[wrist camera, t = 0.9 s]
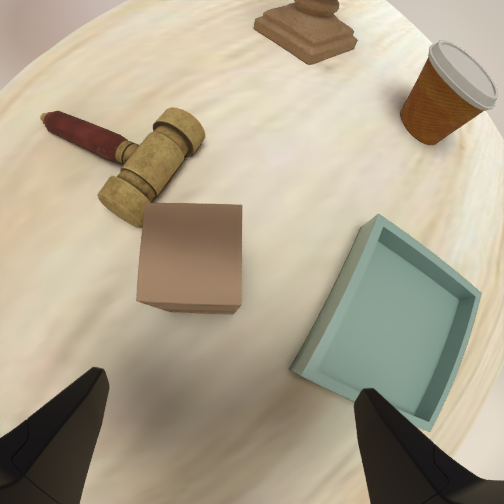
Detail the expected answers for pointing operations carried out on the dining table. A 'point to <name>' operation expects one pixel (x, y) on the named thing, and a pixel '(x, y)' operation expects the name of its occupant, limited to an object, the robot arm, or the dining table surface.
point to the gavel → (134, 156)
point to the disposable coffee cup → (447, 94)
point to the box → (392, 325)
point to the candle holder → (307, 29)
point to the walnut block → (191, 257)
